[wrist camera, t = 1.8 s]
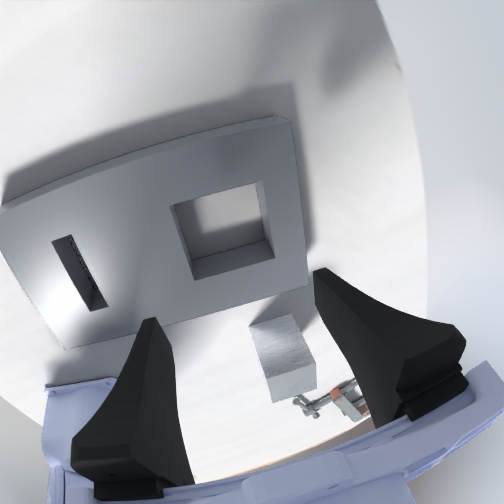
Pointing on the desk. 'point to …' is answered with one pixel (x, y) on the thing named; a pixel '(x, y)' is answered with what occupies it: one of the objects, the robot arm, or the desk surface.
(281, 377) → the square bit
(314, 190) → the desk surface
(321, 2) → the desk surface
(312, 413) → the clamp
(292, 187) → the plate
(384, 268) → the desk surface
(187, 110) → the desk surface
